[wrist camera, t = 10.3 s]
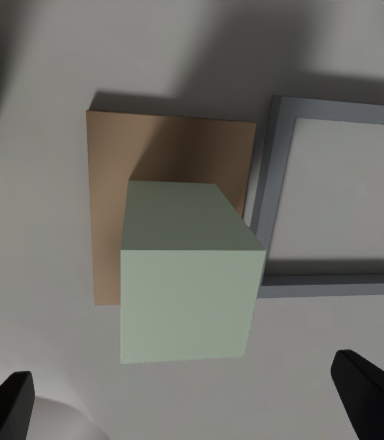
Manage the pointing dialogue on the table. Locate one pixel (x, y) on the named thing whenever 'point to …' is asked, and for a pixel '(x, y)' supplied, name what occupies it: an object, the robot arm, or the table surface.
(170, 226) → the box
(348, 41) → the table surface
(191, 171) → the walnut pad
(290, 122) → the bin rim
